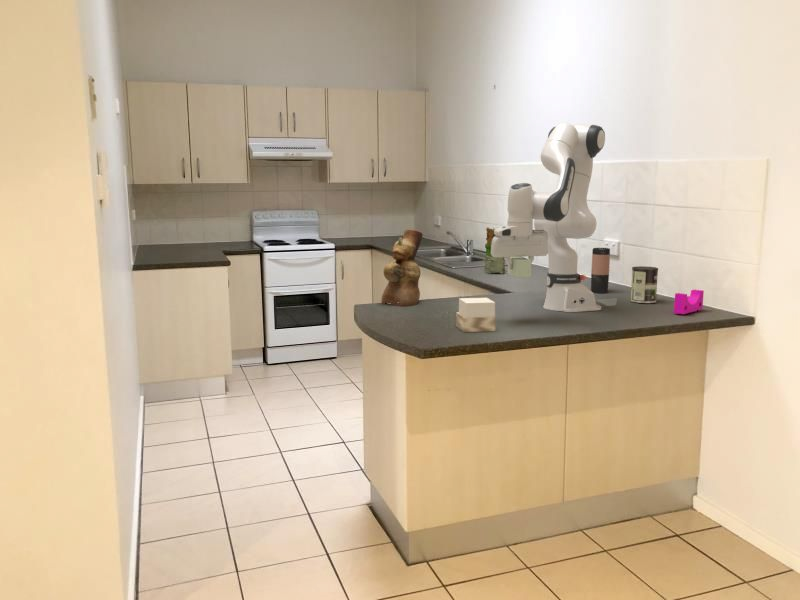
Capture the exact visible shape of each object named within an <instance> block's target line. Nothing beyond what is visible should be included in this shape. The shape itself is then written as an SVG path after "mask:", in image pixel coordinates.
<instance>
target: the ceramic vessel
mask: <svg viewBox="0 0 800 600" xmlns="http://www.w3.org/2000/svg"><path fill="white" fill-rule="evenodd" d="M422 238H423V232H422V231H419V230H415V229H406V230H404V232H403V236H402V237H398V240H397V241H396V242H394V245H393V247H392V256H393V257H392V258H393V260H392V261H390V262H389V263H387V264H385V266H384V267H383V276H384V278H385V279H386V280H387V281H388V283H387V285H386V287H385V288H384V291H383V293H382V294H381V298H380V299H381V304H382V305H385V304H384V303H391V305H390V306H394V307H410V306H415V305H417V304H418V303H419V301H420V297H421V291H420V287H419V281H420V278H421V268H420V266H419V265H418V263H416V262H415V260H416V259H415V258H416V256H417V253H418V250H419V249H420V245H421V243H422ZM397 302H399V303H397Z"/></svg>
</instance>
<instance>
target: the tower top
mask: <svg viewBox="0 0 800 600" xmlns="http://www.w3.org/2000/svg"><path fill="white" fill-rule="evenodd" d="M458 312H459V313H460V314H461V315H463V316H464V317H465V318H483V317H496V302H495V301H493V300H492V299H490V298H489V297H464V298H463V297H462V298H460V297H459V298H458Z"/></svg>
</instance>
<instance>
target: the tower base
mask: <svg viewBox="0 0 800 600" xmlns="http://www.w3.org/2000/svg"><path fill="white" fill-rule="evenodd" d="M496 318H497V317H496V316H495V317H483V318H465V317H464V316H463V315H461V314H460V313H459V311H456V312H455V326H456V327H457V328H458V329H459V330H460V331H462V332H463V333H472V332H473V333H476V332H495V331H496V323H497V322H496V320H497V319H496Z"/></svg>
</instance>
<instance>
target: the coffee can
mask: <svg viewBox="0 0 800 600" xmlns="http://www.w3.org/2000/svg"><path fill="white" fill-rule="evenodd" d="M631 270H632V271H631V287H630V289H631V290H630V302H633V303H638V304H639V303H640V304H653V303H657V291H658V274H659V273H658V272H659V268H658V267H655V266H645V265H644V266H632V267H631Z"/></svg>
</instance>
